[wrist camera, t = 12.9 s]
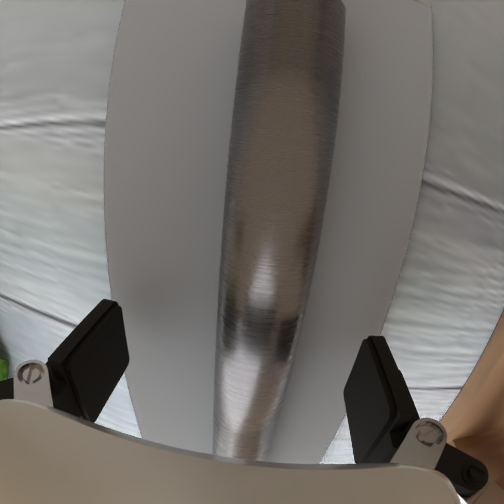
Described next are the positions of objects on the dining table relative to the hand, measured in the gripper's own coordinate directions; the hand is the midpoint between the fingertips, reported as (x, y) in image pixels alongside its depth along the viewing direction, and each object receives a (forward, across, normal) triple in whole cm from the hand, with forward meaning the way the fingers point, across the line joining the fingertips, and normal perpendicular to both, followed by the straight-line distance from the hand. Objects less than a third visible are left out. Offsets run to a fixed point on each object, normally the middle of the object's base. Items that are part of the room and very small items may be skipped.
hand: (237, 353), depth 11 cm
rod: (+2, 0, 0) cm, 2 cm away
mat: (+2, 0, 0) cm, 2 cm away
